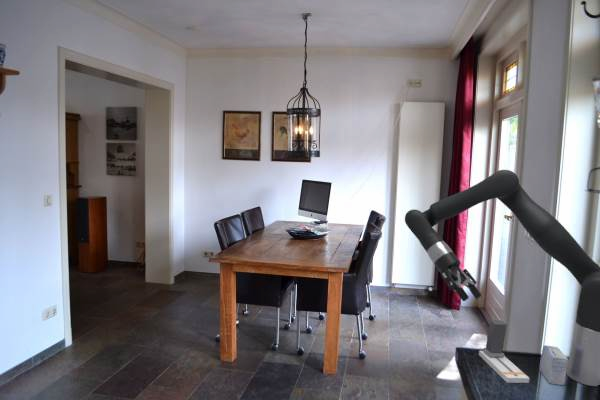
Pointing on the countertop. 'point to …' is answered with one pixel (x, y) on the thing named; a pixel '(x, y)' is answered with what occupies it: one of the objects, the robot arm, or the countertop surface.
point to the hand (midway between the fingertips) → (472, 298)
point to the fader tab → (495, 339)
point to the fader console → (505, 368)
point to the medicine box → (553, 365)
